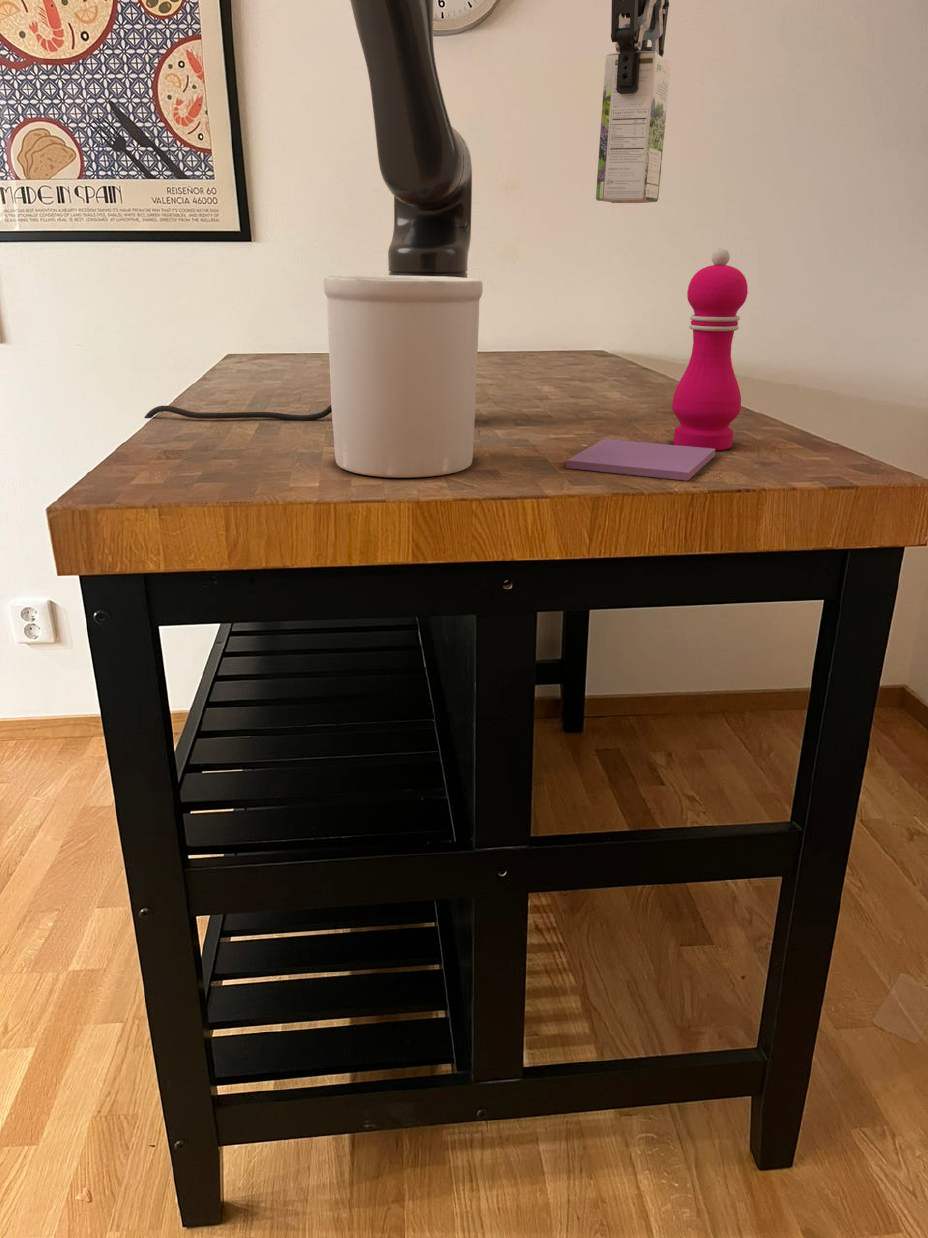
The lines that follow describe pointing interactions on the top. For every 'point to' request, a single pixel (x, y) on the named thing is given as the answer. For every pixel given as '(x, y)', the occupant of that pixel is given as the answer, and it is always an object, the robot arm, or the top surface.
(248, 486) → the top surface
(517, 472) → the top surface
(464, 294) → the utensil holder
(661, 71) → the syrup box
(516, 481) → the top surface
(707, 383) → the pepper mill
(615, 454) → the place mat
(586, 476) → the top surface
